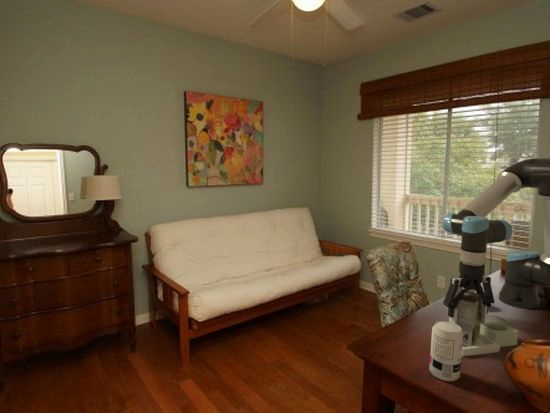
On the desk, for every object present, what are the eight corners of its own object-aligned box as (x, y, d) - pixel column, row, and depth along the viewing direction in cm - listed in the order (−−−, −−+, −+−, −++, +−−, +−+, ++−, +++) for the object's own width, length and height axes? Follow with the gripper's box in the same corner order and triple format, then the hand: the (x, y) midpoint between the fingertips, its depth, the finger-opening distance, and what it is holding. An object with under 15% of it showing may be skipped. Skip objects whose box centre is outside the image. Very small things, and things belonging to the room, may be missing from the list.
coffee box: (460, 331, 126) (464, 289, 124) (479, 338, 121) (484, 294, 119) (451, 340, 120) (455, 295, 117) (471, 348, 115) (476, 301, 113)
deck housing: (490, 328, 131) (491, 311, 130) (523, 348, 117) (525, 329, 116) (434, 335, 126) (435, 316, 125) (462, 356, 112) (464, 336, 112)
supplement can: (423, 366, 107) (427, 320, 105) (449, 365, 108) (453, 319, 106) (438, 383, 99) (442, 334, 97) (465, 382, 100) (470, 332, 98)
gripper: (492, 257, 123) (487, 316, 126) (434, 261, 118) (430, 322, 121) (511, 263, 115) (505, 326, 118) (449, 268, 111) (444, 332, 114)
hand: (467, 324), depth 120 cm, fingers open, 11 cm apart
